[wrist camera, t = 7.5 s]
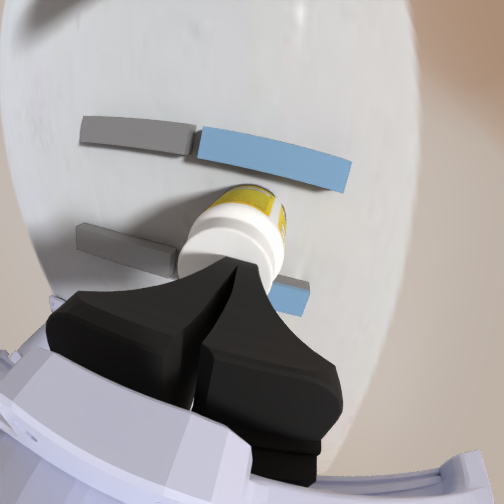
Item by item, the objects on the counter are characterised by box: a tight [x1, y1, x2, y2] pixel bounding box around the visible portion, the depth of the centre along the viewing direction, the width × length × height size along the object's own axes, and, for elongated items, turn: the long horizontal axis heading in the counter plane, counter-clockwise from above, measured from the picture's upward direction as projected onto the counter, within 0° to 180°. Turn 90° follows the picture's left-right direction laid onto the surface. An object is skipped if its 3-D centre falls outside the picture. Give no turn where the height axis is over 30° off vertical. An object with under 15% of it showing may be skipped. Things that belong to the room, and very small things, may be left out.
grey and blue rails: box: [76, 116, 352, 317], centre depth 18 cm, size 11×19×2 cm, turn 77°
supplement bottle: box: [178, 184, 286, 295], centre depth 15 cm, size 5×5×8 cm
